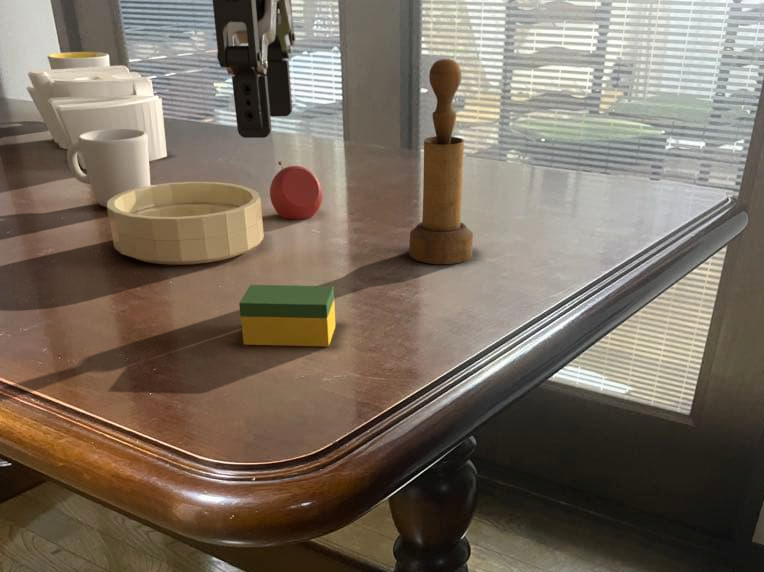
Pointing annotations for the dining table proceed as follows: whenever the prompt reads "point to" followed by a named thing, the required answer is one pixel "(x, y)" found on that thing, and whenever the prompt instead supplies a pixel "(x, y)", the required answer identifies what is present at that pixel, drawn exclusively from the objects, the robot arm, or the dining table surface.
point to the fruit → (295, 193)
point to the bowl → (186, 222)
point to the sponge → (288, 315)
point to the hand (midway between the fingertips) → (267, 125)
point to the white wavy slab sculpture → (97, 104)
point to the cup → (111, 161)
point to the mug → (78, 60)
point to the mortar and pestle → (442, 180)
